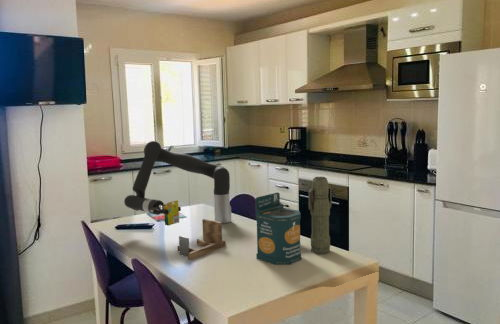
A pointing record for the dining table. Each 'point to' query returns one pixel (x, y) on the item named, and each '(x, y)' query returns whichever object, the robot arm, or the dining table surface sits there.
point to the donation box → (277, 231)
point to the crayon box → (172, 213)
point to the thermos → (320, 214)
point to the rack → (208, 239)
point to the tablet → (162, 216)
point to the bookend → (184, 245)
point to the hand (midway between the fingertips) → (174, 210)
